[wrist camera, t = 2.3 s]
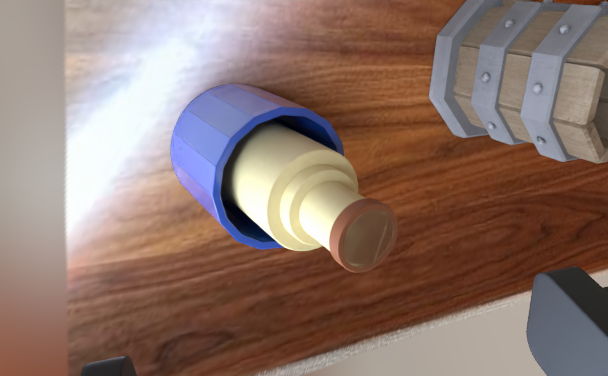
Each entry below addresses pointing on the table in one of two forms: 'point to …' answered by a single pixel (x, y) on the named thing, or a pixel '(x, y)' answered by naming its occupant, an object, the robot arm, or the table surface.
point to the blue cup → (221, 141)
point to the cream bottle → (307, 197)
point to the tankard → (526, 75)
